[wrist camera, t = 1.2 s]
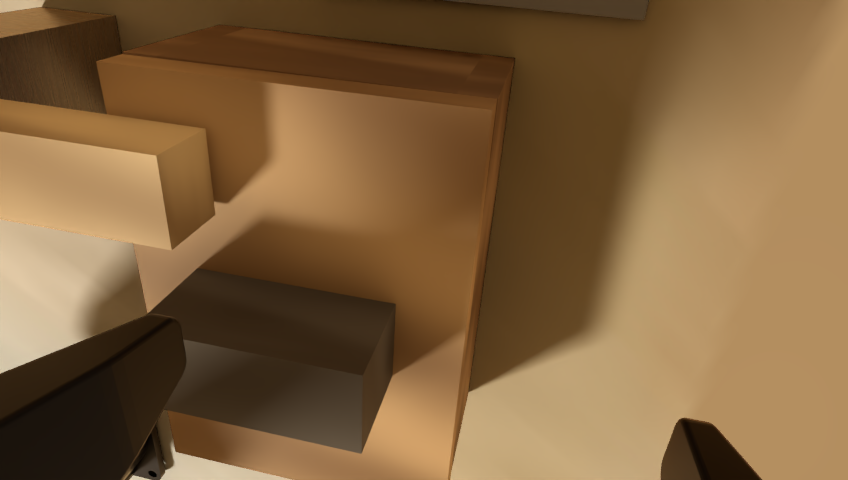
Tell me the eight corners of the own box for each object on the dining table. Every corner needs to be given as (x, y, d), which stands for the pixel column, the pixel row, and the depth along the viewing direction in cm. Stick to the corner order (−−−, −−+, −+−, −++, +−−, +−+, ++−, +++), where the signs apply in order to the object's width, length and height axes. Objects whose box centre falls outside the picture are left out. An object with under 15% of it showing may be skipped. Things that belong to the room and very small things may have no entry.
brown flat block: (468, 393, 25) (447, 490, 21) (251, 348, 27) (189, 430, 22) (515, 58, 18) (498, 98, 14) (220, 24, 20) (122, 51, 15)
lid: (453, 468, 22) (424, 603, 17) (205, 412, 23) (121, 523, 19) (501, 88, 15) (473, 155, 10) (145, 47, 16) (-6, 90, 12)
